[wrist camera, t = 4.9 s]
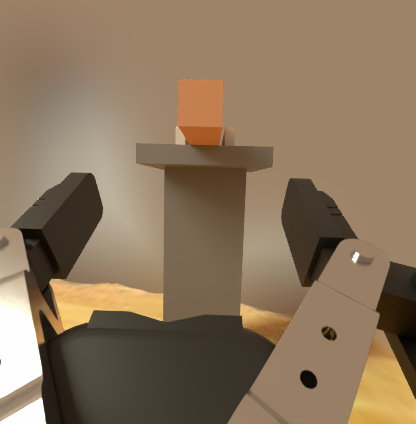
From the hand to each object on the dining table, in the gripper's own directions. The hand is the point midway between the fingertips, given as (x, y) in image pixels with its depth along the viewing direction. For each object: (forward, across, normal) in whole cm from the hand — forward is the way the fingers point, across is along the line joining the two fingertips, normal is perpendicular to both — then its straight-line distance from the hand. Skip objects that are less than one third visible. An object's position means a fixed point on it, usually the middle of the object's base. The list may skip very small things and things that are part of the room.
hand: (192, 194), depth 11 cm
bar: (+18, 0, -5) cm, 19 cm away
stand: (+7, 0, -36) cm, 37 cm away
